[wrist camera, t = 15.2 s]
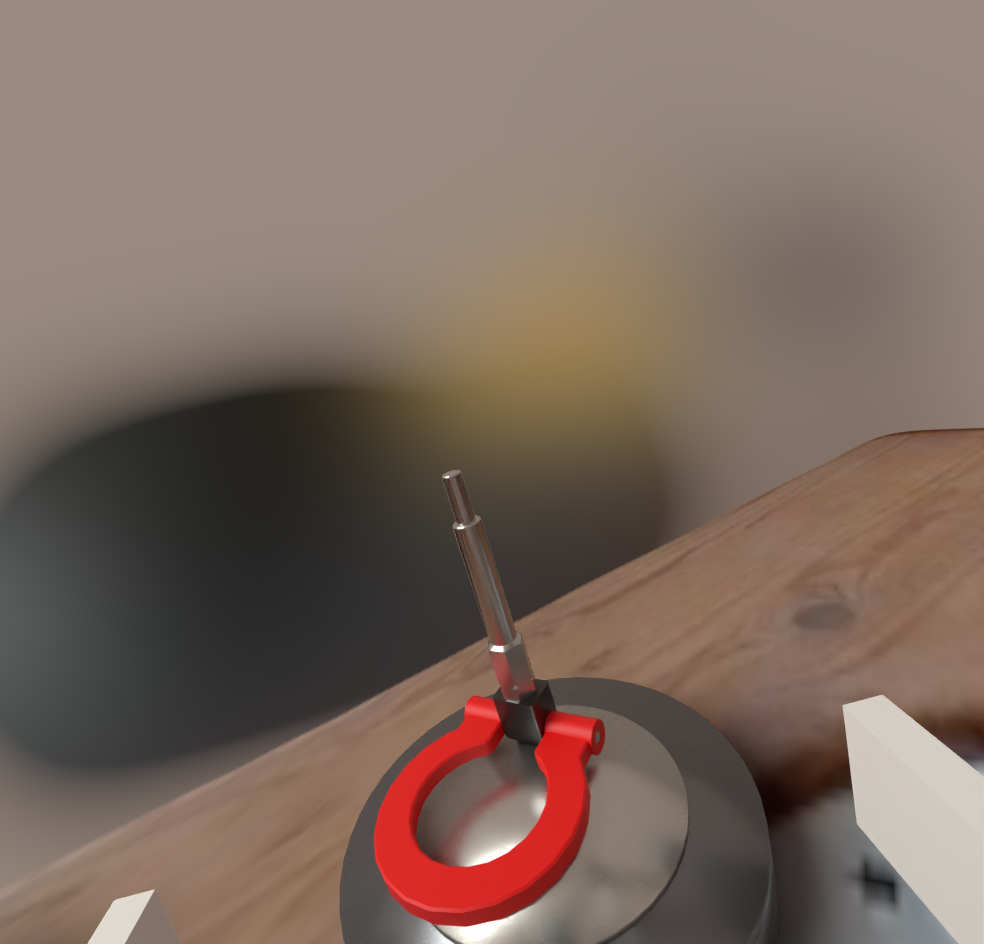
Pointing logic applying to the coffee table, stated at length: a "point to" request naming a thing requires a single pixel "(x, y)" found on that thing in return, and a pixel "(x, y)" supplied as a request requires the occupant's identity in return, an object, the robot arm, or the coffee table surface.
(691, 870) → the rosette plate
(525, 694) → the tow hook
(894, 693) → the coffee table surface
